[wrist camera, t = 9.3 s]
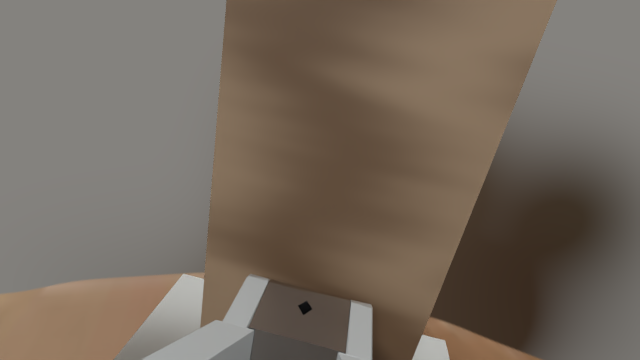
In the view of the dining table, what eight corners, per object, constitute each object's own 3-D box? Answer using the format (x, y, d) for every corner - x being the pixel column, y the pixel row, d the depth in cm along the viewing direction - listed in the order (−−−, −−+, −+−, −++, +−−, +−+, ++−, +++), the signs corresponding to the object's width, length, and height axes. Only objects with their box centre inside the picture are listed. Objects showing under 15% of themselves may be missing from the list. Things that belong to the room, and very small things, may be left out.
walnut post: (369, 346, 16) (481, 12, 11) (368, 468, 12) (559, -8, 6) (243, 313, 17) (290, -26, 11) (192, 419, 12) (232, -71, 7)
